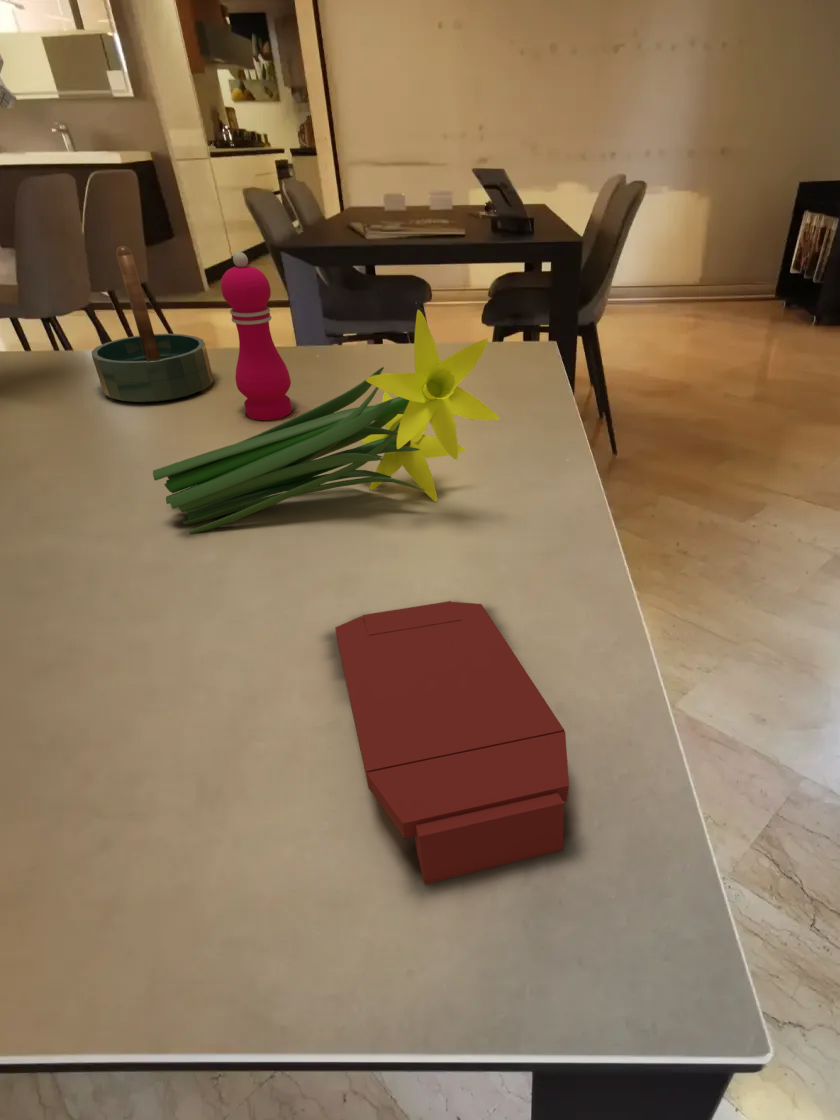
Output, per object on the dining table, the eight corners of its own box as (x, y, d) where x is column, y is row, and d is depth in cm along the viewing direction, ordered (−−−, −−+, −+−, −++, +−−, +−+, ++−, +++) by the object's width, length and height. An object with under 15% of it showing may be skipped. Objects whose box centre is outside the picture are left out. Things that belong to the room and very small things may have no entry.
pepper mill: (232, 418, 97) (196, 255, 84) (260, 402, 102) (230, 246, 90) (278, 424, 95) (248, 258, 83) (305, 407, 100) (279, 248, 88)
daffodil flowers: (199, 486, 81) (480, 385, 82) (225, 596, 77) (523, 488, 77) (110, 394, 65) (461, 268, 65) (137, 526, 61) (514, 390, 61)
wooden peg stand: (130, 386, 106) (88, 247, 94) (162, 376, 110) (125, 241, 98) (158, 392, 103) (118, 251, 92) (189, 381, 108) (155, 244, 96)
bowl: (82, 395, 104) (67, 353, 101) (165, 367, 115) (155, 329, 111) (154, 412, 98) (142, 368, 95) (235, 382, 109) (226, 341, 106)
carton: (341, 671, 59) (389, 897, 38) (333, 619, 57) (378, 830, 36) (479, 647, 62) (594, 845, 41) (477, 596, 59) (598, 780, 38)
